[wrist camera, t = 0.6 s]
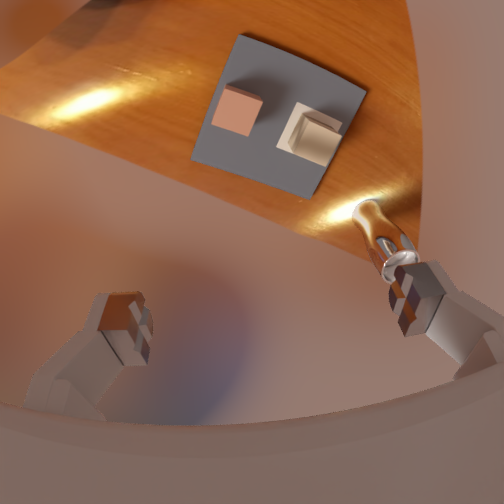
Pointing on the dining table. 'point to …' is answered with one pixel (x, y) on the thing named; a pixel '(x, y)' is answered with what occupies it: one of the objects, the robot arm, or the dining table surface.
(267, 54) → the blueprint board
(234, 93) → the terracotta block
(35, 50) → the dining table surface
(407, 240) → the beer glass
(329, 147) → the maple block
